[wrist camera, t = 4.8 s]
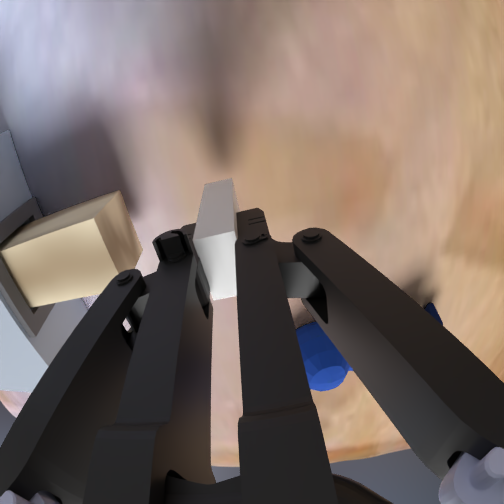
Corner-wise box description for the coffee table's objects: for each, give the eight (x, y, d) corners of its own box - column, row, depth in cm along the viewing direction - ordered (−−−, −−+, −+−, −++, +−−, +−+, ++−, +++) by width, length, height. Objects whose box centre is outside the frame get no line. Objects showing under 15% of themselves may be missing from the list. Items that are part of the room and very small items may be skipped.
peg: (-28, 248, 18) (-56, 275, 14) (119, 190, 17) (93, 218, 13) (-6, 289, 20) (-30, 319, 16) (142, 249, 19) (125, 288, 16)
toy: (430, 287, 26) (277, 320, 25) (465, 329, 21) (292, 379, 20) (415, 337, 29) (281, 370, 29) (442, 378, 24) (293, 423, 23)
